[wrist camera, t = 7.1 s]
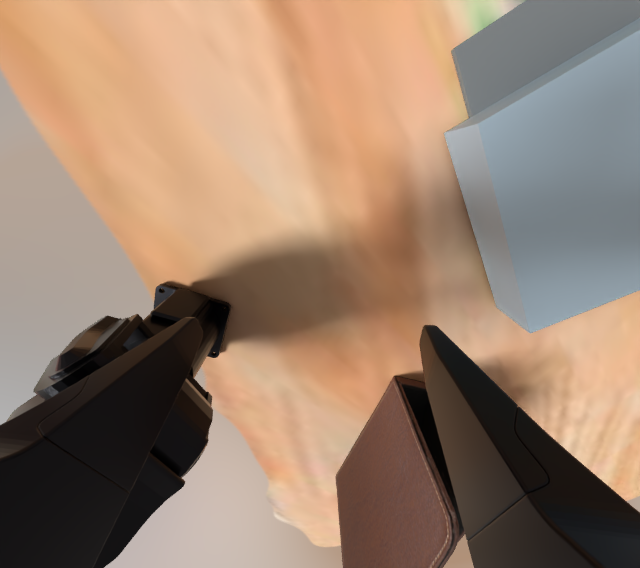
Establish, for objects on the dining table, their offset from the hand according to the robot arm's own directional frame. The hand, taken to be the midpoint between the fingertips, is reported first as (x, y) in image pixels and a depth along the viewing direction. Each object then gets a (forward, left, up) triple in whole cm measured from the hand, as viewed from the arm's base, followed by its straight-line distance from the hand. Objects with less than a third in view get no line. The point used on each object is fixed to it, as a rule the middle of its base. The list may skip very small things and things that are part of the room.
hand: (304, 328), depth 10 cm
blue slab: (+5, -12, -10) cm, 16 cm away
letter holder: (-20, -19, -13) cm, 30 cm away
